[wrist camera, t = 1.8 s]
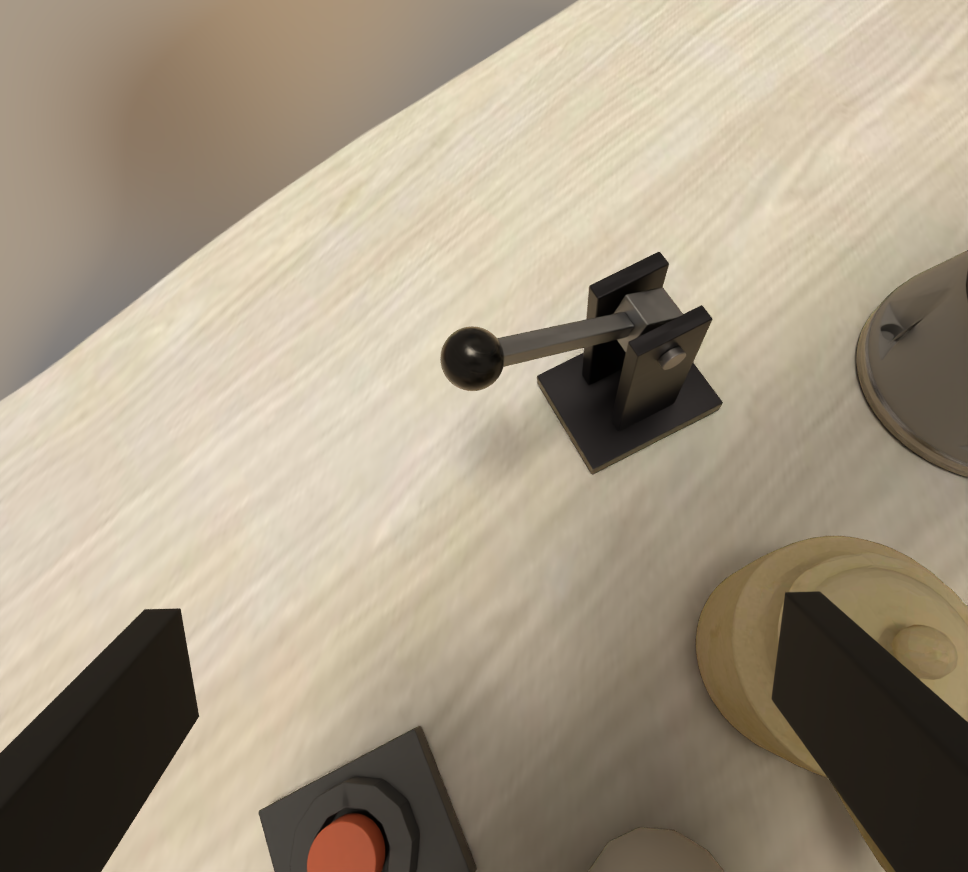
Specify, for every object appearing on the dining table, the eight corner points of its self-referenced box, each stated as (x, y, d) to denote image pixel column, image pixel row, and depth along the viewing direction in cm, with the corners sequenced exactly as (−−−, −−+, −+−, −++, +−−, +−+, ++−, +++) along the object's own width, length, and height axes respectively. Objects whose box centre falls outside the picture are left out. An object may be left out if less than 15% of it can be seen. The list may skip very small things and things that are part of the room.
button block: (420, 725, 35) (406, 732, 32) (477, 869, 32) (468, 893, 29) (271, 804, 35) (241, 819, 31) (314, 958, 32) (286, 993, 28)
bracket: (591, 474, 39) (604, 404, 28) (537, 383, 42) (529, 287, 31) (718, 409, 40) (779, 316, 29) (655, 323, 43) (689, 209, 32)
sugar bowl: (998, 737, 31) (1347, 801, 17) (853, 876, 30) (1108, 1066, 16) (785, 525, 37) (923, 444, 23) (654, 635, 35) (715, 621, 21)
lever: (450, 409, 27) (465, 371, 25) (425, 360, 28) (437, 318, 26) (663, 353, 33) (692, 317, 31) (635, 314, 34) (662, 277, 32)
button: (371, 800, 31) (360, 808, 30) (396, 873, 30) (386, 885, 28) (310, 832, 31) (296, 842, 29) (333, 907, 30) (320, 922, 28)
